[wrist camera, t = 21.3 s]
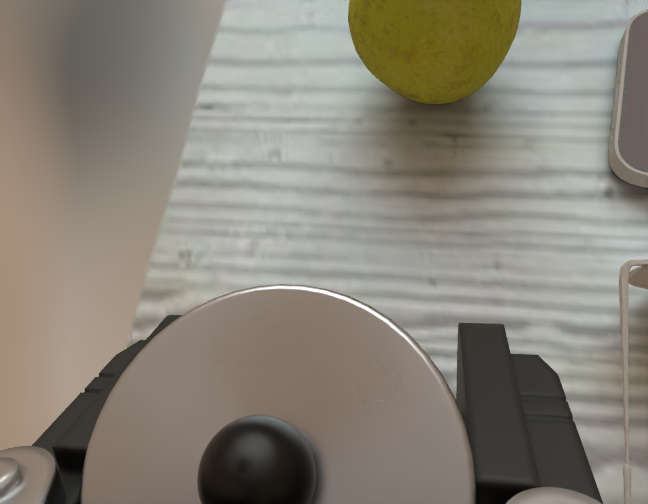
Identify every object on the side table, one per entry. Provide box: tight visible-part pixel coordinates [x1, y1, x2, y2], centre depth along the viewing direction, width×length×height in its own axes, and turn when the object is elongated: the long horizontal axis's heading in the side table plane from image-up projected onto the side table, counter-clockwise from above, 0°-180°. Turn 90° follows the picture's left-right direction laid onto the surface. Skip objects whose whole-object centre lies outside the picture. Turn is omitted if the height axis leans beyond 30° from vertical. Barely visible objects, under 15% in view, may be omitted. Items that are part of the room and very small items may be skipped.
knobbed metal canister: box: [79, 284, 477, 504], centre depth 9 cm, size 4×4×9 cm
